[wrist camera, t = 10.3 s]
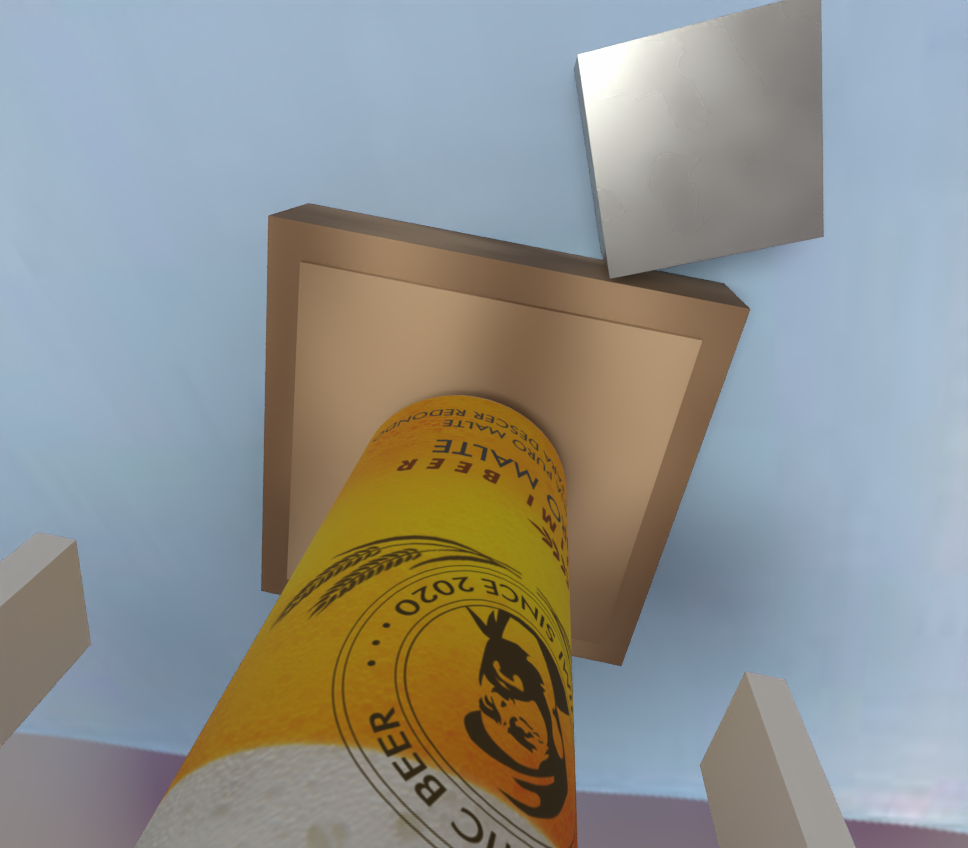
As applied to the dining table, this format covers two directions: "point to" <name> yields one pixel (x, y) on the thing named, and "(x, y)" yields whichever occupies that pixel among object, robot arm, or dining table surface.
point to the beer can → (406, 660)
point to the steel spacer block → (706, 138)
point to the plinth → (491, 382)
